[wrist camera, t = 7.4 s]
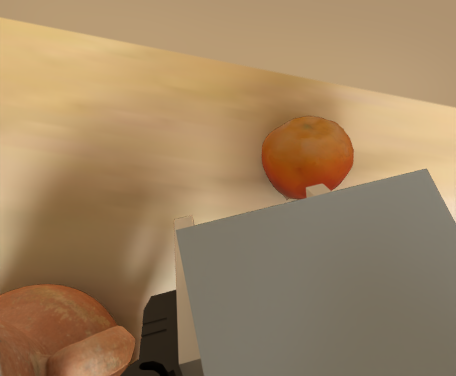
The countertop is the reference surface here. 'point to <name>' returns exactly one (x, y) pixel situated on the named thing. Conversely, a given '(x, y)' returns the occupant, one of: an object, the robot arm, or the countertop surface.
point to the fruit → (306, 155)
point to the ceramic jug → (60, 334)
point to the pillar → (328, 284)
